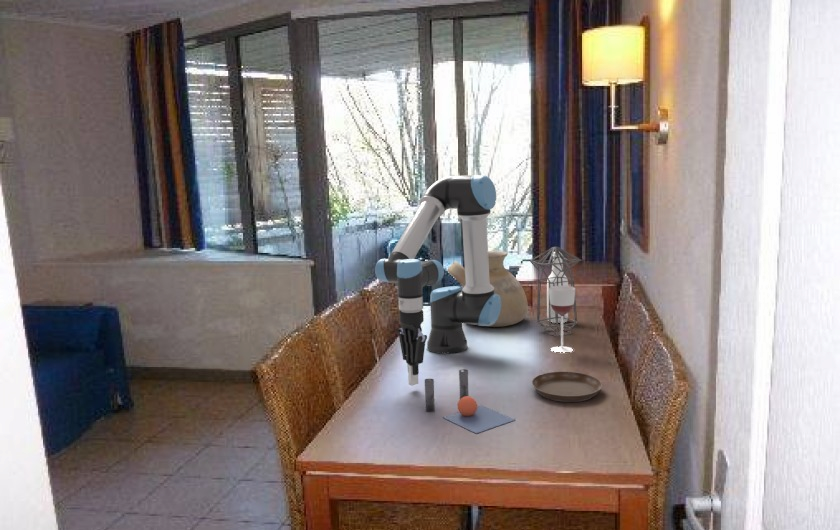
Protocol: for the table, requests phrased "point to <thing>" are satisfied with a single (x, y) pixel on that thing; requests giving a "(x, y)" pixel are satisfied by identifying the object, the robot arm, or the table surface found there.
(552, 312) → the alcohol
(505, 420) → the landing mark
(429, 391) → the post
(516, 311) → the jug
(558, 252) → the geometric lantern
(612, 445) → the table surface
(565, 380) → the plant saucer
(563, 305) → the wineglass
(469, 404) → the ball
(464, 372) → the post
